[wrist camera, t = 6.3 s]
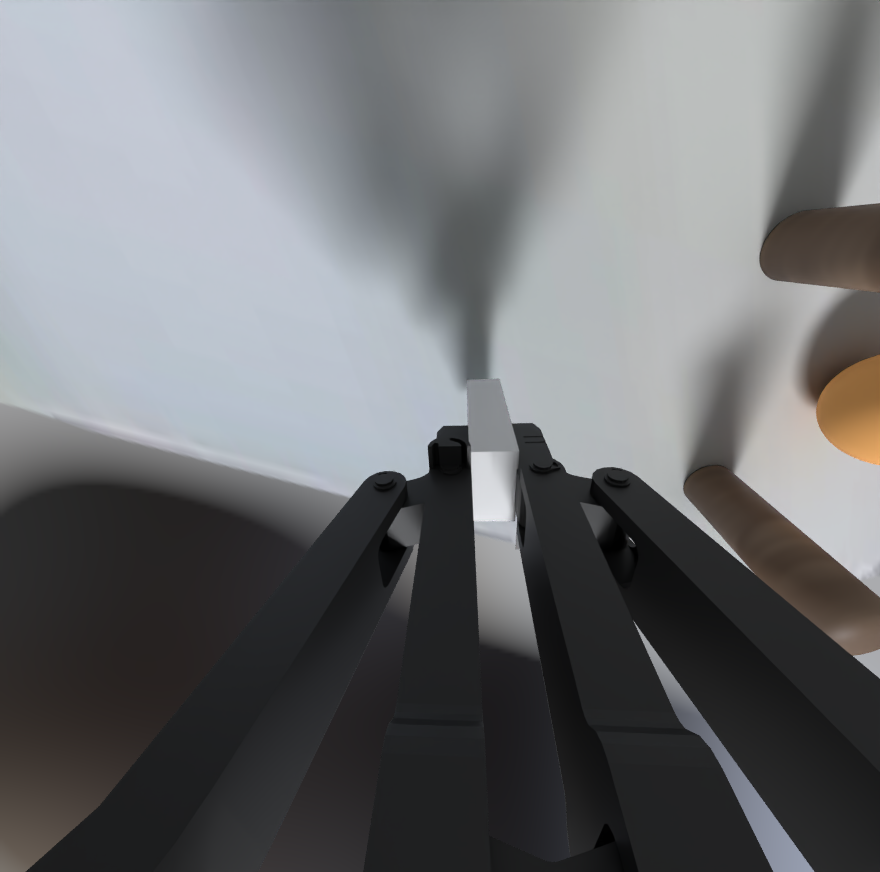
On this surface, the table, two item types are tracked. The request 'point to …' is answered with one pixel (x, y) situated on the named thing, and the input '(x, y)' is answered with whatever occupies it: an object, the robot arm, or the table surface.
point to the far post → (788, 559)
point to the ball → (853, 410)
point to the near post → (826, 248)
